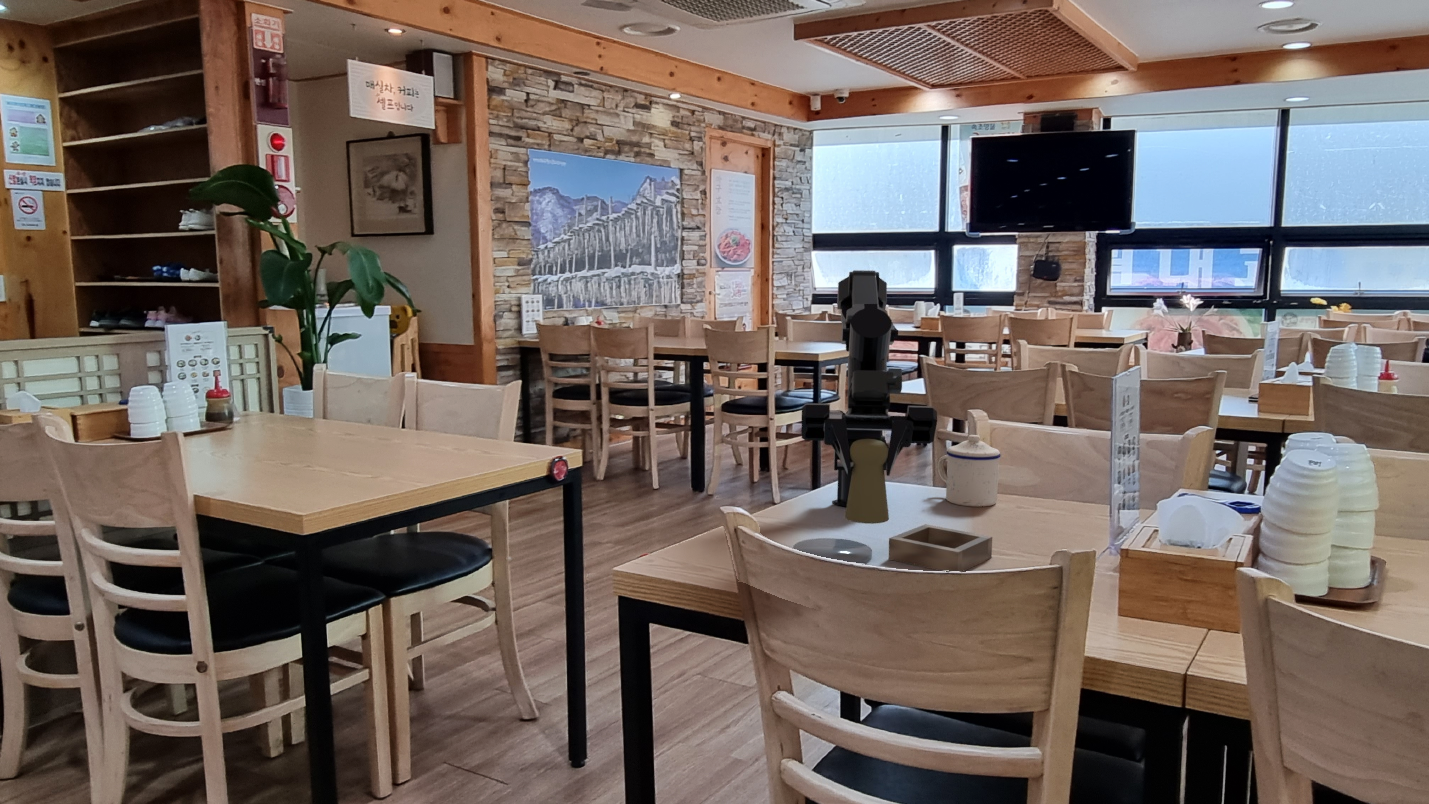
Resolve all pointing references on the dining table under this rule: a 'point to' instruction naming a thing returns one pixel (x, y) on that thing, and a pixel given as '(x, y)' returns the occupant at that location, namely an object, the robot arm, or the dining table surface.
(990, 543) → the walnut collar
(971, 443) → the teacup with lid
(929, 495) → the dining table surface
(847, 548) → the slate coaster
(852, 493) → the olive game pawn
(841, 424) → the robot arm
